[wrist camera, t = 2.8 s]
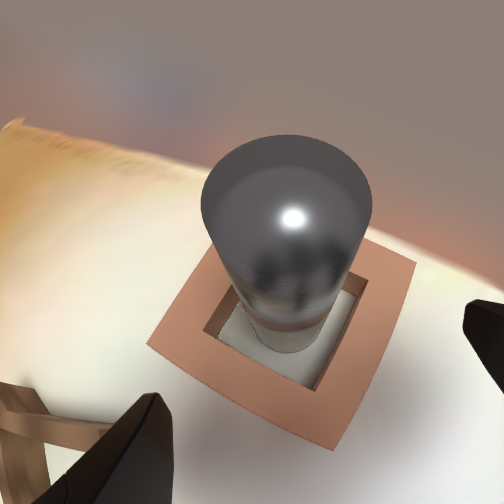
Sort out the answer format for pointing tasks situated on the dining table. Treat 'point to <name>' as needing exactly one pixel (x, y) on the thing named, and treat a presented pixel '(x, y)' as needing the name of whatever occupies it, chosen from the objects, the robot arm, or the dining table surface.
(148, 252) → the dining table surface
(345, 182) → the steel axle
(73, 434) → the v block
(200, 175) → the dining table surface
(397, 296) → the sleeve block
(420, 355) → the dining table surface
